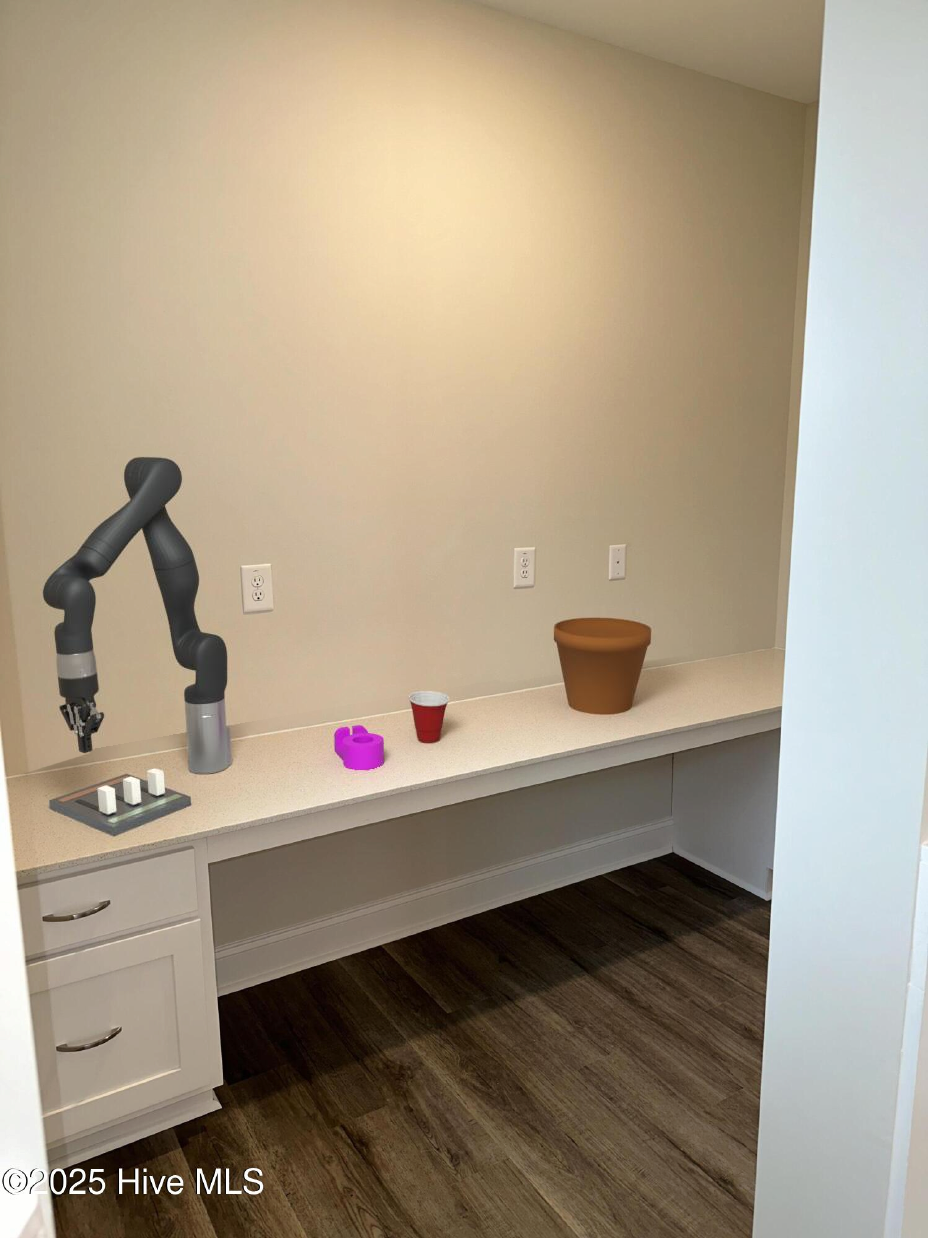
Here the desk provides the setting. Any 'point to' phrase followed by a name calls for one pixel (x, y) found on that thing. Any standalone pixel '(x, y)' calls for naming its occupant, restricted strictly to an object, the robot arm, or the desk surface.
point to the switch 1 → (106, 799)
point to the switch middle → (132, 790)
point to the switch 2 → (155, 781)
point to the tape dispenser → (359, 748)
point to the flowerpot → (601, 662)
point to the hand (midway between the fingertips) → (85, 751)
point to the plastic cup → (428, 714)
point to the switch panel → (118, 806)
